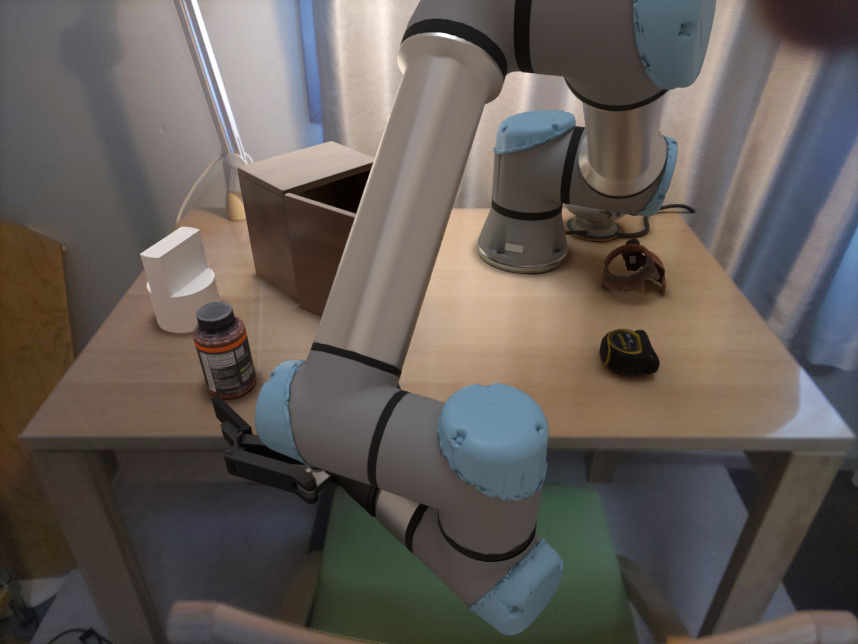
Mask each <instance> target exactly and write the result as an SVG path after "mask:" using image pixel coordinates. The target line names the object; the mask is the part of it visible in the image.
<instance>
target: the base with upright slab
mask: <svg viewBox="0 0 858 644" xmlns="http://www.w3.org/2000/svg"><path fill="white" fill-rule="evenodd" d="M204 246H205V245H204V241H203V238H202V233H201V229H199V228H195V227H193V226H192V227H191V226H181V227H179V228H177V229H176V230H174V231H172V232H171V233H169V234H168V235H166V236H165V237H163V238H162V239H161V240H158V241H157V242H156V243H154V244H153V245H151V246H149V247H148V248H147V249H145V250H144V251H142V252H141V253H139V256H140V259H141V262H142V266H143V270H144V272H145V275H146V279H147V282H146V290H147V293H148V296H149V299H150V302H151V305H152V309H153V313H154V315H155V319H156V323H157V325H158V326H159V327H160V329H162V330H163V331H166V332H169V333H173V334H189V333H193V331H194V329H195V327H196V325H197V324H198V322H197V316H196V313H197V310H198V309H199V308H200V307H201V306H203V305H205V304H207V303H211V302H222V301H221V296H220V291H219V288H218V287H219V286H218V283H217V279H216V274H215V272H214V271H213V269H212V268H210V267H209V263H208V259H207V254H206V250H205V247H204Z"/></svg>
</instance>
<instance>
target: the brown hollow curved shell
mask: <svg viewBox="0 0 858 644" xmlns="http://www.w3.org/2000/svg"><path fill="white" fill-rule="evenodd" d="M620 255H621V257H622V260H623V262H624V267H625V271H626V272H634V273H631V274H627V275H618V274H614V273H612V272H611V270H610V269H609V267H610V264H611V263H612V261H613V260H614V259H616V258H617V257H619V256H620ZM603 264H604V266H603V269H602V271H601V275H600V283H601V288H606V289H609V290H611V291H615V292H617V293H620V292H630V291H639V292H642V293H644V292H645V279H646V280H649V281H652V280H653V281H655V282H657V283H659V284H660V286H661V294H662V295H663V296H664V295H666V293H667V292H666V290H667V278H666V269H665V266H664V263H663V261H662V260H661V259H660V258H659V256H658V255H657V254H656V253H654V252H652V251H650V250H649V249H648V248H647V247H646V246H644V245H641V243H640V240H639V238H637V237H636V238H635V237H631V238H629V239H627V240H626V241H625V243H624V244H623V245H619V246H618V247H615V248H614V249H612V250H611V251H610V252H609V253H608V254H607V255H606V256H605V258H604V260H603Z"/></svg>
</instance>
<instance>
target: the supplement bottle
mask: <svg viewBox="0 0 858 644" xmlns="http://www.w3.org/2000/svg"><path fill="white" fill-rule="evenodd" d="M196 316H197V322H198V324H197V325H196V327H195V329H194V331H193V332H192V339H193V343H194V347H195V350H196V353H197V357H198V360H199V364H200V367H201V370H202V371H201V372H202V374H203V378H204V382H205V385H206V387H207V390H208V392H209V393H210V395H212V396H213V397H215V396H217V395H219V396H220V397H221V398H222V399H223V400H229V399H235V398H239V397H242V396H244V395H246V394H247V393H248V392H250V391H251V390H252V389H253V387H254V386H255V385H256V381H257V376H256V369H255V364H254V361H253V356H252V351H251V347H250V342H249V337H248V333H247V328H246V325H245V323H244V321H243V319H241V318H240V317H238V316H237V315H235V313H234V309H233V306H232V304H230V303H228V302H226V301H221V302H211V303H207V304H205V305H203V306H201V307H200V308H199V309H198V310H197V313H196Z"/></svg>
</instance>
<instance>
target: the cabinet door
mask: <svg viewBox="0 0 858 644" xmlns="http://www.w3.org/2000/svg"><path fill="white" fill-rule="evenodd" d="M284 201H285V208H286V216H287V223H288V230H289V237H290V244H291V251H292V258H293V266H294V273H295V280H296V287H297V294H298V301H299V304H298V308H301V309H303V310H304V311H308V312H310V313H312V314H314V315H316V316H319V317H321V318H322V315H323V312H324V309H325V306H326V303H327V300H328V297H329V294H330V291H331V288H332V285H333V282H334V279H335V276H336V273H337V270H338V267H339V264H340V261H341V258H342V255H343V252H344V249H345V246H346V243H347V240H348V237H349V234H350V231H351V228H352V225H353V222H354V219H355V216H356V214H355V213H351V212H348V211H345V210H342V209H339V208H336V207H332V206H329V205H326V204H323V203H320V202H317V201H313V200H310V199H307V198H304V197H301V196H298V195H294V194H291V193H287V194H285V195H284Z"/></svg>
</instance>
